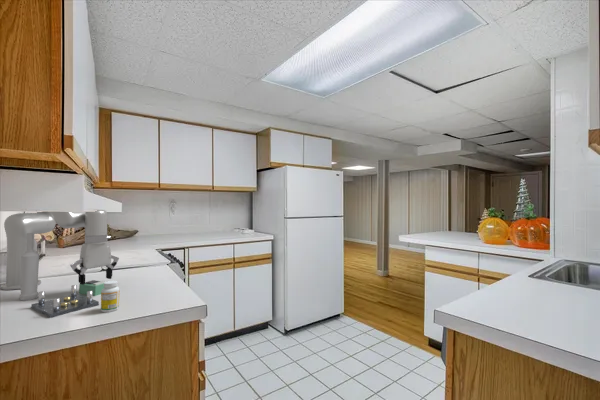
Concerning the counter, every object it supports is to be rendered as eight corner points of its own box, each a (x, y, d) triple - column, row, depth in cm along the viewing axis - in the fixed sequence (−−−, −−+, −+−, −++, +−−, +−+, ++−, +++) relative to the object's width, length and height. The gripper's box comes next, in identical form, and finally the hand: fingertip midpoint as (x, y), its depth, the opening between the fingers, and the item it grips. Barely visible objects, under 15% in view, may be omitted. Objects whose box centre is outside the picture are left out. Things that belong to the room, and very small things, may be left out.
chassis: (31, 307, 100) (31, 292, 100) (78, 296, 112) (78, 283, 112) (50, 317, 92) (50, 301, 92) (98, 304, 104) (99, 290, 104)
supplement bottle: (112, 312, 97) (113, 284, 97) (96, 312, 97) (97, 284, 97) (122, 306, 103) (123, 280, 103) (107, 306, 103) (108, 279, 103)
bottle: (40, 297, 110) (42, 232, 111) (22, 301, 106) (24, 234, 106) (35, 295, 113) (36, 232, 113) (17, 299, 109) (19, 233, 109)
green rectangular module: (79, 293, 117) (79, 282, 117) (93, 289, 122) (93, 279, 122) (95, 296, 114) (95, 284, 114) (109, 292, 120) (109, 281, 120)
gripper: (113, 237, 128) (113, 275, 127) (66, 241, 113) (66, 285, 112) (123, 237, 124) (122, 277, 123) (75, 242, 109) (75, 287, 109)
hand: (96, 281), depth 118 cm, fingers open, 9 cm apart
